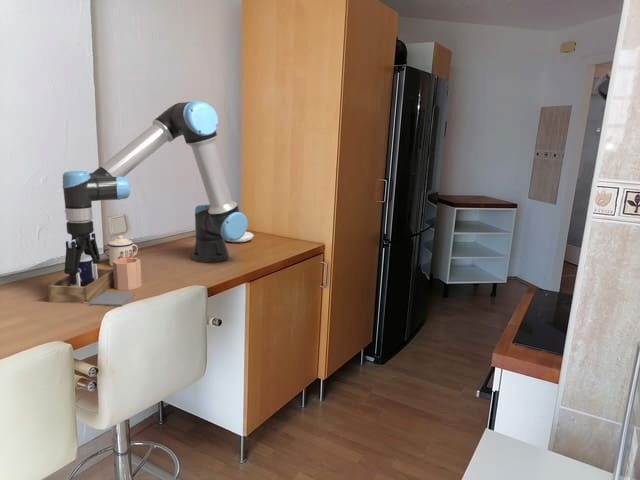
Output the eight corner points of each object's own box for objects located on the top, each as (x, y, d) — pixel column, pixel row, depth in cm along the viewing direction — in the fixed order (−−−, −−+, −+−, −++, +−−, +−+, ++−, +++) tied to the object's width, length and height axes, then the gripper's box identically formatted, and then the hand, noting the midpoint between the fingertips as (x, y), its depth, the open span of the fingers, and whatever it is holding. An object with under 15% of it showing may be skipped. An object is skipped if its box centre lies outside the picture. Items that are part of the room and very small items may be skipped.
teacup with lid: (119, 268, 178) (117, 239, 176) (104, 265, 183) (102, 236, 181) (145, 262, 188) (143, 234, 186) (130, 259, 193) (129, 231, 191)
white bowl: (255, 238, 240) (254, 224, 239) (252, 245, 225) (252, 230, 224) (224, 237, 240) (224, 224, 238) (219, 244, 224) (218, 230, 223)
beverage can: (80, 289, 154) (77, 254, 151) (97, 289, 154) (95, 254, 152) (72, 294, 148) (69, 258, 146) (91, 294, 149) (88, 258, 146)
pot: (144, 283, 162) (142, 258, 160) (135, 290, 154) (133, 264, 152) (121, 282, 162) (119, 257, 160) (111, 289, 154) (109, 263, 152)
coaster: (134, 295, 149) (134, 293, 149) (121, 306, 140) (121, 304, 139) (104, 294, 149) (103, 292, 149) (88, 305, 140) (88, 303, 140)
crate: (117, 282, 161) (116, 269, 160) (87, 303, 141) (85, 287, 140) (84, 281, 162) (82, 268, 161) (49, 302, 141) (47, 286, 140)
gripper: (86, 214, 158) (91, 277, 162) (46, 227, 135) (53, 299, 140) (108, 215, 158) (112, 277, 162) (71, 227, 135) (78, 300, 140)
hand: (85, 287), depth 151 cm, fingers open, 10 cm apart
